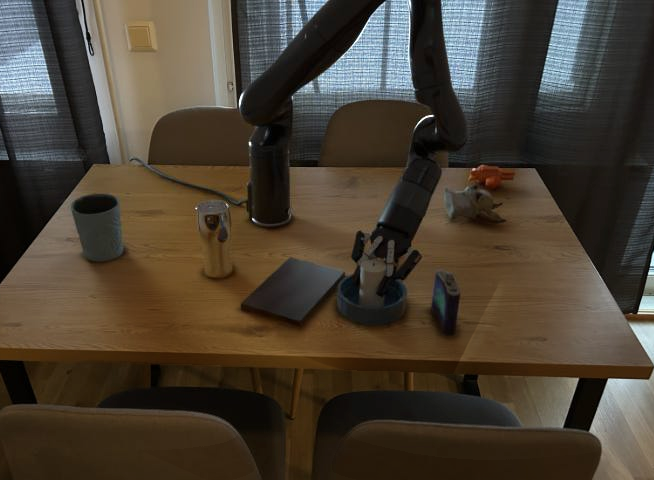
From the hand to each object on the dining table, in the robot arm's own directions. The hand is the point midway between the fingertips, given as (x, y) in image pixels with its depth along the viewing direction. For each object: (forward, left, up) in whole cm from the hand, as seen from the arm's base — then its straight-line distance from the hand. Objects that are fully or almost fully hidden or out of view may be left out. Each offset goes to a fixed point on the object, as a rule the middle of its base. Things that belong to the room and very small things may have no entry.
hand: (367, 290), depth 121 cm
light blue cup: (-61, -6, -5) cm, 61 cm away
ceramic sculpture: (+7, +48, -5) cm, 49 cm away
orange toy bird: (+6, +70, -5) cm, 70 cm away
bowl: (0, +2, -5) cm, 5 cm away
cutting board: (-15, -1, -5) cm, 16 cm away
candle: (0, +2, -4) cm, 5 cm away
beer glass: (-34, -1, -5) cm, 34 cm away
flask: (+14, +3, -5) cm, 16 cm away
